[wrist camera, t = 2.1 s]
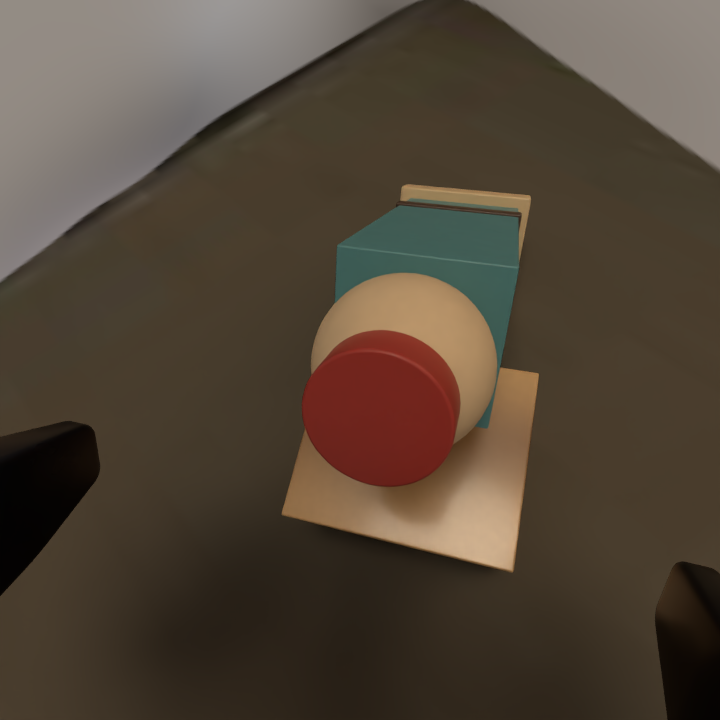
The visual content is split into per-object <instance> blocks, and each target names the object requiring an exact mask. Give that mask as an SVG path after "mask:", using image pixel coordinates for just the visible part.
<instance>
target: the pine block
mask: <svg viewBox="0 0 720 720" xmlns="http://www.w3.org/2000/svg"><path fill="white" fill-rule="evenodd" d="M538 379H539V374H537V373H532V372H526V371H520V370H513V369H507V368H501V367H500V370H499V375H498V381H497V386H496V391H495V396H494V401H493V406H492V412H491V417H490V422H489V427H488V428H487V429H485V428H480V427H474V428H473V429H472V430H471V431H470V432H469V433H468V434H467V435H466V436H464V437H463V438H462V439H460V440H459V441H458V442H456V443H455V444H453V446H452V448H451V451H450V453H449V455H448V456H447V458H446V460H445V461H444V462H443V463H442V465H441V466H440V467H439V468H438V469H437V470H435V471H434V472H433V473H432V474H430V475H429V476H427V477H425V478H424V479H422V480H420V481H417V482H415V483H412V484H408V485H403V486H397V487H382V486H374V485H369V484H366V483H362V482H359V481H357V480H354V479H352V478H350V477H348V476H346V475H344V474H342V473H341V472H339V471H338V470H336V469H335V468H334V467H332V466H331V465H330V464H329V463H328V462H327V461H326V460H325V459H324V458H323V457H322V456H321V455H320V454H319V453H318V451H317V450H316V449H315V447H314V446H313V444H312V442H311V441H310V438H309V436H308V434H307V432H306V429H305V430H304V434H303V438H302V441H301V445H300V448H299V452H298V456H297V459H296V463H295V467H294V470H293V474H292V477H291V481H290V485H289V488H288V492H287V496H286V499H285V503H284V506H283V510H282V515H283V516H287V517H291V518H295V519H298V520H302V521H306V522H310V523H313V524H317V525H321V526H325V527H329V528H333V529H337V530H341V531H345V532H349V533H353V534H357V535H361V536H365V537H369V538H373V539H377V540H381V541H385V542H389V543H393V544H397V545H401V546H405V547H409V548H413V549H417V550H421V551H425V552H429V553H433V554H437V555H441V556H445V557H449V558H453V559H457V560H461V561H465V562H469V563H473V564H477V565H481V566H485V567H489V568H493V569H497V570H502V571H507V572H513V571H514V565H515V557H516V549H517V542H518V534H519V526H520V518H521V511H522V503H523V495H524V487H525V480H526V472H527V464H528V456H529V449H530V441H531V433H532V425H533V418H534V410H535V402H536V394H537V387H538Z"/></svg>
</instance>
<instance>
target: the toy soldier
mask: <svg viewBox="0 0 720 720" xmlns="http://www.w3.org/2000/svg"><path fill="white" fill-rule="evenodd" d="M530 204H531V197H530V196H529V195H519V194H508V193H497V192H486V191H475V190H464V189H453V188H442V187H431V186H420V185H409V184H407V185H405V186H403V187H402V189H401V200H400V201H399V202H397V204H396V208H395V209H393V210H391V211H390V212H388V213H387V214H385V215H384V216H382V217H381V218H379V219H377V220H376V221H374V222H373V223H371V224H370V225H368V226H367V227H365V228H363V229H362V230H360V231H359V232H357V233H356V234H354V235H353V236H351V237H349V238H348V239H346V240H345V241H343V242H342V243H340V244H339V245H337V258H336V284H335V304H334V305H333V306H332V308H331V309H330V310H329V312H328V313H327V314H326V316H325V317H324V319H323V321H322V323H321V325H320V327H319V329H318V332H317V334H316V337H315V341H314V345H313V350H312V357H311V374H312V375H311V377H310V378H309V380H308V382H307V384H306V387H305V389H304V394H303V399H302V416H303V421H304V426H305V429H306V432H307V434H308V436H309V438H310V441H311V442H312V444H313V446H314V447H315V449H316V450H317V451H318V453H319V454H320V455H321V456H322V457H323V458H324V459H325V460H326V461H327V462H328V463H329V464H330V465H331V466H332V467H334V468H335V469H336V470H338V471H339V472H341V473H342V474H344V475H346V476H348V477H350V478H352V479H354V480H357V481H359V482H362V483H366V484H369V485H374V486H382V487H397V486H403V485H408V484H412V483H415V482H417V481H420V480H422V479H424V478H425V477H427V476H429V475H430V474H432V473H433V472H434V471H435V470H437V469H438V468H439V467H440V466H441V465H442V463H443V462H444V461H445V460H446V458H447V456H448V455H449V453H450V451H451V448H452V446H453V444H455V443H456V442H458V441H459V440H460V439H462V438H463V437H464V436H466V435H467V434H468V433H469V432H470V431H471V430H472V429H473V428H474V427H480V428H485V429H487V428H488V427H489V422H490V417H491V412H492V406H493V401H494V396H495V391H496V386H497V381H498V375H499V370H500V365H501V360H502V355H503V350H504V344H505V339H506V334H507V329H508V324H509V319H510V313H511V308H512V303H513V298H514V293H515V287H516V282H517V277H518V272H519V261H520V255H521V250H522V245H523V240H524V235H525V230H526V224H527V219H528V214H529V209H530Z"/></svg>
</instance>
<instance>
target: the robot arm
mask: <svg viewBox="0 0 720 720" xmlns="http://www.w3.org/2000/svg"><path fill="white" fill-rule="evenodd" d="M99 471H100V462H99V456H98V449H97V443H96V437H95V432H94V430H93V429H92V427H90V426H89V425H86V424H81V423H77V422H72V421H64V422H60V423H56V424H52V425H47V426H43V427H39V428H35V429H31V430H27V431H22V432H18V433H14V434H10V435H6V436H2V437H0V596H1V595H2V594H3V593H4V592H5V590H6V589H7V588H8V587H9V586H10V585H11V584H12V583H13V582H14V581H15V580H16V579H17V577H18V576H19V575H20V574H21V573H22V572H23V571H24V570H25V569H26V568H27V567H28V565H29V564H30V563H31V562H32V561H33V560H34V559H35V557H36V556H37V555H38V554H39V553H40V552H41V550H42V549H43V548H44V547H45V545H46V544H47V543H48V542H49V540H50V539H51V538H52V536H53V535H54V534H55V533H56V531H57V530H58V529H59V527H60V526H61V525H62V524H63V522H64V521H65V520H66V518H67V517H68V516H69V515H70V513H71V512H72V511H73V509H74V508H75V507H76V506H77V504H78V503H79V502H80V500H81V499H82V498H83V496H84V495H85V494H86V493H87V491H88V490H89V489H90V487H91V486H92V485H93V484H94V482H95V481H96V479H97V477H98V475H99ZM655 626H656V634H657V641H658V649H659V657H660V665H661V672H662V680H663V688H664V695H665V703H666V711H667V719H668V720H720V574H719V573H718V572H717V571H716V570H714V569H712V568H709V567H705V566H701V565H696V564H692V563H688V562H678V563H676V564H675V565H674V567H673V568H672V570H671V572H670V575H669V577H668V580H667V582H666V585H665V587H664V590H663V592H662V594H661V597H660V599H659V602H658V604H657V608H656V614H655Z"/></svg>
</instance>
